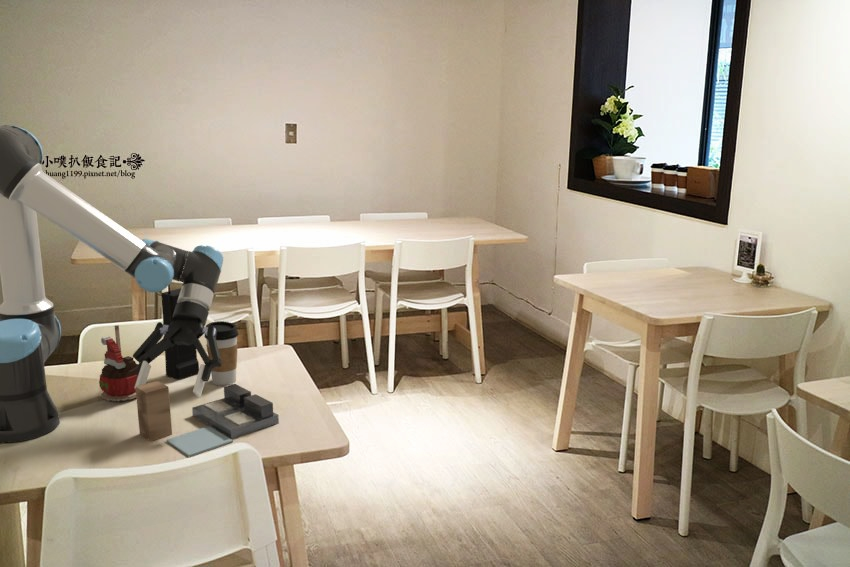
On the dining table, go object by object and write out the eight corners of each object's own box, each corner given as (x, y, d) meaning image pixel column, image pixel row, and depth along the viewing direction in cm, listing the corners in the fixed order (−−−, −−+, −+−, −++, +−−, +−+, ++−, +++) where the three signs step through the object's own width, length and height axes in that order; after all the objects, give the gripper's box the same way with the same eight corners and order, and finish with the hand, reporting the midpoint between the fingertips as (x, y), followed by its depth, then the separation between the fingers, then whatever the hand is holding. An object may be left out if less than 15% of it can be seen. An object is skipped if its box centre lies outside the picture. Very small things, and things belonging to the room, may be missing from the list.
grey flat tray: (192, 415, 176) (191, 395, 175) (238, 401, 184) (237, 382, 183) (231, 439, 164) (230, 417, 163) (278, 423, 172) (277, 402, 171)
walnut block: (139, 433, 166) (135, 386, 164) (161, 427, 170) (157, 380, 167) (150, 441, 163) (145, 392, 160) (172, 434, 166) (168, 386, 164)
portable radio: (189, 367, 207) (182, 277, 201) (203, 372, 204) (197, 280, 198) (164, 375, 201) (156, 283, 195) (178, 380, 197) (171, 286, 191)
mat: (166, 441, 163) (166, 439, 163) (209, 427, 170) (209, 425, 170) (189, 456, 156) (189, 455, 156) (232, 442, 163) (232, 440, 163)
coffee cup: (227, 373, 203) (224, 318, 199) (247, 380, 198) (245, 324, 194) (200, 381, 197) (196, 325, 193) (220, 389, 191) (217, 332, 188)
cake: (153, 395, 188) (147, 324, 183) (118, 407, 180) (111, 334, 176) (127, 385, 194) (121, 317, 190) (93, 396, 187) (85, 326, 182)
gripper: (249, 317, 180) (227, 402, 169) (149, 312, 183) (122, 395, 173) (238, 301, 173) (215, 389, 163) (136, 297, 177) (106, 382, 166)
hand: (167, 392), depth 168 cm, fingers open, 13 cm apart
